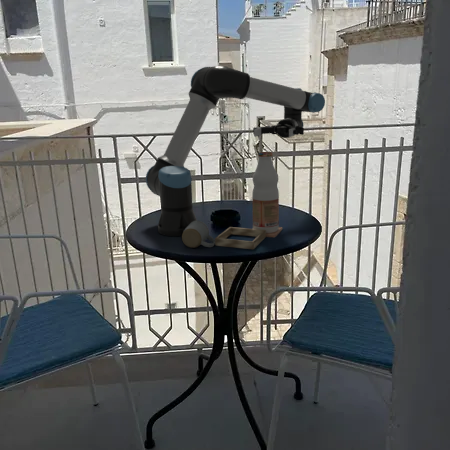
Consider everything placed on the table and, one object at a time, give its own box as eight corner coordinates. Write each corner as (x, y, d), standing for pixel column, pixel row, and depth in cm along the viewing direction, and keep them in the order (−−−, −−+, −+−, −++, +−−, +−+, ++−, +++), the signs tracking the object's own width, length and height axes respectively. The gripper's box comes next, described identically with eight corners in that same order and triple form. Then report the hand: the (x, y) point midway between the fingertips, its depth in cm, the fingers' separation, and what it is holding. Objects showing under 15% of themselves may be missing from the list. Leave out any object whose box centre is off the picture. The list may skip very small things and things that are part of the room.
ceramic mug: (180, 248, 152) (179, 226, 150) (188, 240, 160) (187, 219, 158) (211, 250, 150) (210, 228, 147) (218, 242, 157) (217, 221, 155)
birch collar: (215, 245, 154) (214, 238, 153) (230, 233, 166) (229, 226, 165) (253, 249, 149) (253, 242, 148) (265, 236, 161) (265, 230, 160)
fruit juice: (248, 232, 164) (247, 154, 156) (259, 225, 172) (258, 150, 164) (272, 235, 160) (272, 155, 152) (282, 227, 168) (283, 151, 160)
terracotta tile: (247, 235, 164) (247, 232, 163) (256, 227, 172) (256, 225, 172) (274, 237, 160) (274, 235, 160) (282, 229, 169) (282, 227, 169)
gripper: (316, 137, 186) (305, 143, 168) (258, 136, 196) (241, 142, 177) (317, 118, 184) (305, 122, 165) (258, 118, 193) (240, 122, 175)
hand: (272, 133), depth 171 cm, fingers open, 13 cm apart
